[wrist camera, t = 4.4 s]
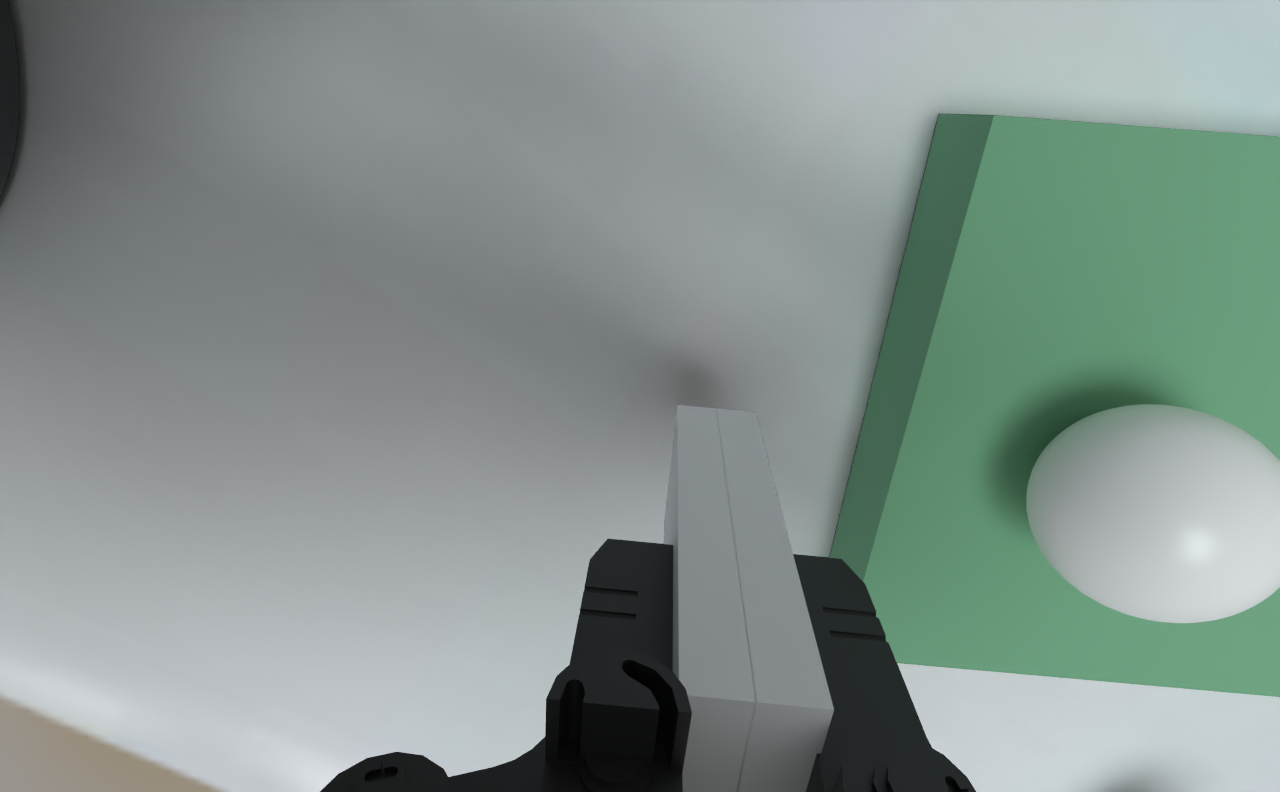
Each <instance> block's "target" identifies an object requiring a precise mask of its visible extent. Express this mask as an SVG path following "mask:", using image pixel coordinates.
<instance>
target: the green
mask: <svg viewBox="0 0 1280 792" xmlns="http://www.w3.org/2000/svg"><path fill="white" fill-rule="evenodd" d="M1139 404H1161V405H1170V406H1177V407H1184V408H1189V409H1193V410H1197V411H1200V412H1203V413H1207V414H1210V415H1213V416H1216V417H1218V418H1220V419H1222V420H1225V421H1227V422H1229V423H1231V424H1233V425H1235V426H1237V427H1239V428H1241V429H1242V430H1244V431H1245V432H1247V433H1248V434H1250V435H1251V436H1253V437H1254V438H1255V439H1257V440H1258V441H1260V442H1261V443H1262V444H1263V445H1264V446H1265V447H1266V448H1267V449H1269V450H1270V451H1271V452H1272V453H1273V454H1274V455H1275V456H1276V457H1277V458H1278V459H1279V460H1280V137H1276V136H1263V135H1250V134H1236V133H1223V132H1210V131H1197V130H1183V129H1170V128H1157V127H1144V126H1131V125H1117V124H1104V123H1091V122H1078V121H1065V120H1051V119H1038V118H1025V117H1012V116H998V115H971V114H939V115H938V120H937V124H936V128H935V132H934V136H933V140H932V144H931V148H930V152H929V156H928V160H927V164H926V168H925V172H924V176H923V180H922V184H921V188H920V192H919V197H918V201H917V205H916V209H915V213H914V217H913V221H912V225H911V229H910V233H909V237H908V241H907V245H906V249H905V253H904V257H903V261H902V265H901V269H900V274H899V278H898V282H897V286H896V290H895V294H894V298H893V302H892V306H891V310H890V314H889V318H888V322H887V326H886V330H885V334H884V338H883V342H882V346H881V351H880V355H879V359H878V363H877V367H876V371H875V375H874V379H873V383H872V387H871V391H870V395H869V399H868V403H867V407H866V411H865V415H864V419H863V423H862V428H861V432H860V436H859V440H858V444H857V448H856V452H855V456H854V460H853V464H852V468H851V472H850V476H849V480H848V484H847V488H846V492H845V496H844V500H843V505H842V509H841V513H840V517H839V521H838V525H837V529H836V533H835V537H834V541H833V545H832V549H831V553H830V557H829V558H838V559H842V560H843V561H844V562H845V563H846V564H847V565H848V566H849V567H850V568H851V569H852V570H853V571H854V573H855V574H856V575H857V576H858V577H859V578H860V579H861V580H862V581H863V582H864V583H865V585H866V587H867V590H868V592H869V595H870V597H871V600H872V602H873V605H874V607H875V610H876V617H877V618H879V620H880V622H881V625H882V627H883V630H884V632H885V635H886V642H889V645H890V647H891V650H892V652H893V655H894V657H895V660H896V662H897V663H904V664H915V665H926V666H937V667H949V668H960V669H971V670H982V671H994V672H1005V673H1016V674H1027V675H1039V676H1050V677H1061V678H1073V679H1084V680H1095V681H1106V682H1118V683H1129V684H1140V685H1151V686H1163V687H1174V688H1185V689H1197V690H1208V691H1219V692H1230V693H1242V694H1253V695H1264V696H1275V697H1280V588H1279V589H1277V590H1276V591H1275V592H1274V593H1273V594H1272V595H1270V596H1269V597H1268V598H1266V599H1265V600H1263V601H1262V602H1260V603H1259V604H1257V605H1255V606H1253V607H1251V608H1249V609H1247V610H1245V611H1243V612H1241V613H1238V614H1236V615H1233V616H1229V617H1226V618H1222V619H1218V620H1213V621H1206V622H1197V623H1167V622H1157V621H1150V620H1146V619H1142V618H1138V617H1134V616H1130V615H1126V614H1124V613H1121V612H1119V611H1116V610H1114V609H1111V608H1108V607H1106V606H1104V605H1102V604H1100V603H1098V602H1096V601H1095V600H1093V599H1091V598H1089V597H1088V596H1086V595H1084V594H1083V593H1081V592H1080V591H1079V590H1077V589H1076V588H1075V587H1073V586H1072V585H1071V584H1070V583H1068V582H1067V581H1066V580H1065V579H1064V578H1063V577H1062V576H1061V575H1060V574H1059V573H1058V572H1057V571H1056V570H1055V569H1054V568H1053V567H1052V566H1051V565H1050V563H1049V562H1048V561H1047V559H1046V558H1045V556H1044V555H1043V553H1042V552H1041V550H1040V548H1039V547H1038V545H1037V543H1036V541H1035V538H1034V536H1033V534H1032V531H1031V528H1030V524H1029V520H1028V515H1027V508H1026V493H1027V486H1028V482H1029V479H1030V475H1031V472H1032V469H1033V467H1034V465H1035V463H1036V461H1037V459H1038V458H1039V456H1040V454H1041V453H1042V451H1043V450H1044V449H1045V448H1046V446H1047V445H1048V444H1049V443H1050V442H1051V441H1052V440H1053V439H1054V438H1055V437H1056V436H1057V435H1059V434H1060V433H1061V432H1062V431H1064V430H1065V429H1066V428H1068V427H1069V426H1071V425H1072V424H1074V423H1076V422H1077V421H1079V420H1081V419H1083V418H1085V417H1088V416H1090V415H1092V414H1095V413H1098V412H1101V411H1104V410H1108V409H1112V408H1117V407H1122V406H1128V405H1139Z"/></svg>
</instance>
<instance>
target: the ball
mask: <svg viewBox="0 0 1280 792" xmlns="http://www.w3.org/2000/svg"><path fill="white" fill-rule="evenodd" d="M1026 508H1027V515H1028V520H1029V524H1030V528H1031V531H1032V534H1033V536H1034V538H1035V541H1036V543H1037V545H1038V547H1039V548H1040V550H1041V552H1042V553H1043V555H1044V556H1045V558H1046V559H1047V561H1048V562H1049V563H1050V565H1051V566H1052V567H1053V568H1054V569H1055V570H1056V571H1057V572H1058V573H1059V574H1060V575H1061V576H1062V577H1063V578H1064V579H1065V580H1066V581H1067V582H1068V583H1070V584H1071V585H1072V586H1073V587H1075V588H1076V589H1077V590H1079V591H1080V592H1081V593H1083V594H1084V595H1086V596H1088V597H1089V598H1091V599H1093V600H1095V601H1096V602H1098V603H1100V604H1102V605H1104V606H1106V607H1108V608H1111V609H1114V610H1116V611H1119V612H1121V613H1124V614H1126V615H1130V616H1134V617H1138V618H1142V619H1146V620H1150V621H1157V622H1167V623H1197V622H1206V621H1213V620H1218V619H1222V618H1226V617H1229V616H1233V615H1236V614H1238V613H1241V612H1243V611H1245V610H1247V609H1249V608H1251V607H1253V606H1255V605H1257V604H1259V603H1260V602H1262V601H1263V600H1265V599H1266V598H1268V597H1269V596H1270V595H1272V594H1273V593H1274V592H1275V591H1276V590H1277V589H1279V588H1280V460H1279V459H1278V458H1277V457H1276V456H1275V455H1274V454H1273V453H1272V452H1271V451H1270V450H1269V449H1267V448H1266V447H1265V446H1264V445H1263V444H1262V443H1261V442H1260V441H1258V440H1257V439H1255V438H1254V437H1253V436H1251V435H1250V434H1248V433H1247V432H1245V431H1244V430H1242V429H1241V428H1239V427H1237V426H1235V425H1233V424H1231V423H1229V422H1227V421H1225V420H1222V419H1220V418H1218V417H1216V416H1213V415H1210V414H1207V413H1203V412H1200V411H1197V410H1193V409H1189V408H1184V407H1177V406H1170V405H1161V404H1139V405H1128V406H1122V407H1117V408H1112V409H1108V410H1104V411H1101V412H1098V413H1095V414H1092V415H1090V416H1088V417H1085V418H1083V419H1081V420H1079V421H1077V422H1076V423H1074V424H1072V425H1071V426H1069V427H1068V428H1066V429H1065V430H1064V431H1062V432H1061V433H1060V434H1059V435H1057V436H1056V437H1055V438H1054V439H1053V440H1052V441H1051V442H1050V443H1049V444H1048V445H1047V446H1046V448H1045V449H1044V450H1043V451H1042V453H1041V454H1040V456H1039V458H1038V459H1037V461H1036V463H1035V465H1034V467H1033V469H1032V472H1031V475H1030V479H1029V482H1028V486H1027V493H1026Z"/></svg>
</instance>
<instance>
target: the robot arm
mask: <svg viewBox="0 0 1280 792" xmlns="http://www.w3.org/2000/svg"><path fill="white" fill-rule="evenodd" d="M18 114H19V77H18V64H17V52H16V45H15V38H14V32H13V25H12V20H11V15H10V10H9V6H8V1H7V0H0V196H1V193H2V191H3V188H4V185H5V183H6V180H7V177H8V174H9V170H10V166H11V162H12V158H13V155H14V148H15V142H16V136H17V127H18ZM320 792H976V791H975V789H974V788H973V786H972V785H971V783H970V781H969V780H968V778H967V777H966V776H965V775H964V774H963V773H962V772H961V771H960V770H959V769H958V768H957V767H956V766H955V765H954V764H953V763H952V762H950V761H949V760H948V759H947V758H946V757H945V756H944V755H943V754H941V753H939V752H938V751H936V750H934V749H932V747H931V745H930V743H929V741H928V739H927V737H926V735H925V732H924V730H923V727H922V725H921V722H920V720H919V717H918V715H917V712H916V710H915V707H914V705H913V702H912V700H911V697H910V695H909V692H908V690H907V687H906V685H905V682H904V680H903V677H902V675H901V672H900V670H899V667H898V665H897V662H896V660H895V657H894V655H893V652H892V650H891V647H890V645H889V642H886V635H885V632H884V630H883V627H882V625H881V622H880V620H879V618H877V617H876V610H875V607H874V605H873V602H872V600H871V597H870V595H869V592H868V590H867V587H866V585H865V583H864V582H863V581H862V580H861V579H860V578H859V577H858V576H857V575H856V574H855V573H854V571H853V570H852V569H851V568H850V567H849V566H848V565H847V564H846V563H845V562H844V561H843V560H842V559H838V558H827V557H817V556H806V555H796V554H793V552H792V548H791V544H790V541H789V537H788V533H787V529H786V526H785V522H784V518H783V514H782V510H781V507H780V503H779V499H778V495H777V491H776V488H775V484H774V480H773V476H772V473H771V469H770V465H769V461H768V457H767V454H766V450H765V446H764V442H763V438H762V435H761V431H760V427H759V423H758V419H757V416H756V412H751V411H741V410H730V409H719V408H708V407H697V406H686V405H677V414H676V423H675V431H674V440H673V449H672V458H671V467H670V476H669V485H668V493H667V502H666V511H665V520H664V544H657V543H647V542H636V541H626V540H615V539H607V540H606V542H605V543H604V544H603V545H602V546H601V547H600V549H599V550H598V551H597V552H596V553H595V554H594V556H593V557H592V558H591V559H590V562H589V567H588V572H587V578H586V583H585V590H584V593H583V598H582V604H581V609H580V615H579V619H578V624H577V630H576V635H575V640H574V645H573V650H572V656H571V661H570V665H569V666H568V667H566V668H565V669H564V670H563V671H562V672H561V673H560V674H559V675H558V676H557V677H556V679H555V681H554V683H553V685H552V688H551V690H550V692H549V694H548V696H547V698H546V737H545V738H543V739H542V740H541V741H540V742H539V743H538V744H537V745H536V746H535V747H534V748H533V749H532V750H530V751H528V752H527V753H525V754H523V755H522V756H520V757H518V758H517V759H515V760H513V761H510V762H507V763H504V764H501V765H498V766H495V767H492V768H488V769H483V770H479V771H474V772H470V773H465V774H461V775H457V776H452V777H448V776H447V774H446V772H445V771H444V769H443V768H441V767H440V766H438V765H437V764H435V763H434V762H432V761H431V760H429V759H428V758H426V757H424V756H422V755H415V754H408V753H401V752H394V753H389V754H385V755H380V756H375V757H370V758H367V759H365V760H363V761H361V762H359V763H358V764H356V765H354V766H352V767H350V768H348V769H347V770H345V771H343V772H341V773H339V774H338V775H337V776H336V777H335V778H334V779H333V780H332V781H331V782H330V783H329V784H328V785H327V786H326V787H325V788H323V789H322V790H321V791H320Z"/></svg>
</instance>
